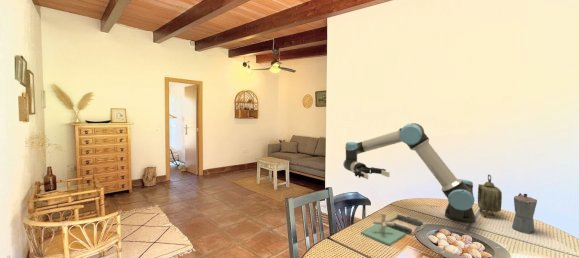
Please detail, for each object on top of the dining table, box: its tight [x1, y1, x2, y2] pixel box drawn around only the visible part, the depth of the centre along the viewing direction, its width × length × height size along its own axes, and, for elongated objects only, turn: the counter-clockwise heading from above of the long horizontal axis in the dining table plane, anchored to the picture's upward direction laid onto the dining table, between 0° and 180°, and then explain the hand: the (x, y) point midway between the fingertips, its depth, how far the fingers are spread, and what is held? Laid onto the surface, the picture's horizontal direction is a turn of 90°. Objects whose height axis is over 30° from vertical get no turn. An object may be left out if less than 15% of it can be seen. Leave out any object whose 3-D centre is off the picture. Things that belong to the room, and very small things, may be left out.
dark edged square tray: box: [386, 214, 424, 237], centre depth 144 cm, size 18×17×2 cm
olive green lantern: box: [477, 174, 503, 218], centre depth 157 cm, size 14×9×25 cm, turn 153°
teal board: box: [360, 224, 407, 247], centre depth 134 cm, size 16×16×1 cm
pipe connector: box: [372, 212, 395, 233], centre depth 133 cm, size 10×10×10 cm
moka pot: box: [511, 193, 538, 235], centre depth 138 cm, size 10×15×20 cm, turn 160°
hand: (378, 175), depth 145 cm, fingers open, 13 cm apart
